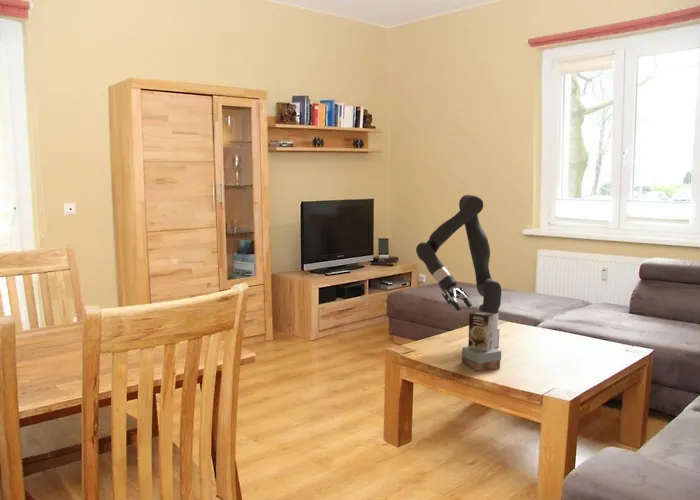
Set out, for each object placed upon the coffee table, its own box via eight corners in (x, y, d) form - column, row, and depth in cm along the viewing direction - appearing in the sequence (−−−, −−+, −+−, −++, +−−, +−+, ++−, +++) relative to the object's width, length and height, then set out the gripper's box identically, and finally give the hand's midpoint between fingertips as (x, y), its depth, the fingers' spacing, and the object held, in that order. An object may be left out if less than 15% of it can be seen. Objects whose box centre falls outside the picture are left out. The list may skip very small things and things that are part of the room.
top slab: (484, 352, 281) (484, 344, 280) (501, 360, 270) (501, 351, 270) (462, 355, 276) (462, 347, 276) (478, 363, 265) (478, 354, 265)
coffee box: (467, 348, 273) (468, 312, 271) (473, 345, 279) (474, 310, 277) (487, 351, 268) (488, 315, 266) (492, 348, 274) (493, 312, 272)
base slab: (485, 361, 281) (485, 352, 281) (499, 369, 270) (500, 360, 269) (462, 363, 278) (462, 355, 277) (475, 372, 266) (475, 363, 266)
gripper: (440, 276, 274) (461, 305, 268) (458, 272, 285) (479, 300, 278) (430, 286, 279) (450, 315, 272) (448, 282, 289) (468, 310, 283)
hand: (465, 308), depth 275 cm, fingers open, 8 cm apart
